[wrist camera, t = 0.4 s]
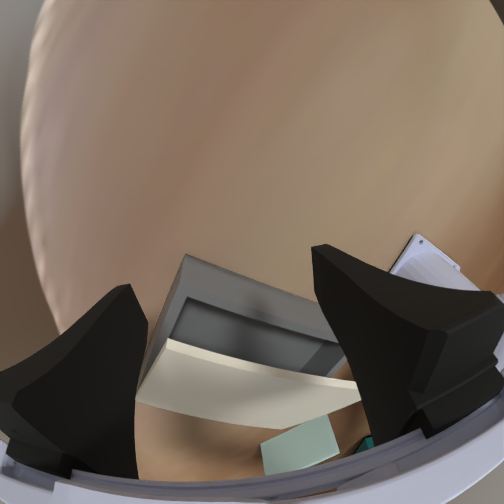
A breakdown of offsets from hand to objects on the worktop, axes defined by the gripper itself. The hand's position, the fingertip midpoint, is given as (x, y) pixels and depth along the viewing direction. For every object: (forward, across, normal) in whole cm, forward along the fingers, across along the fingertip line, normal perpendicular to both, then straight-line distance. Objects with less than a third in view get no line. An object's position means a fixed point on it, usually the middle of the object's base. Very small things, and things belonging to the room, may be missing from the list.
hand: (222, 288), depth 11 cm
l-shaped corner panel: (+11, -5, +40) cm, 41 cm away
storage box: (+10, +1, +13) cm, 17 cm away
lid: (+4, +1, +14) cm, 14 cm away
